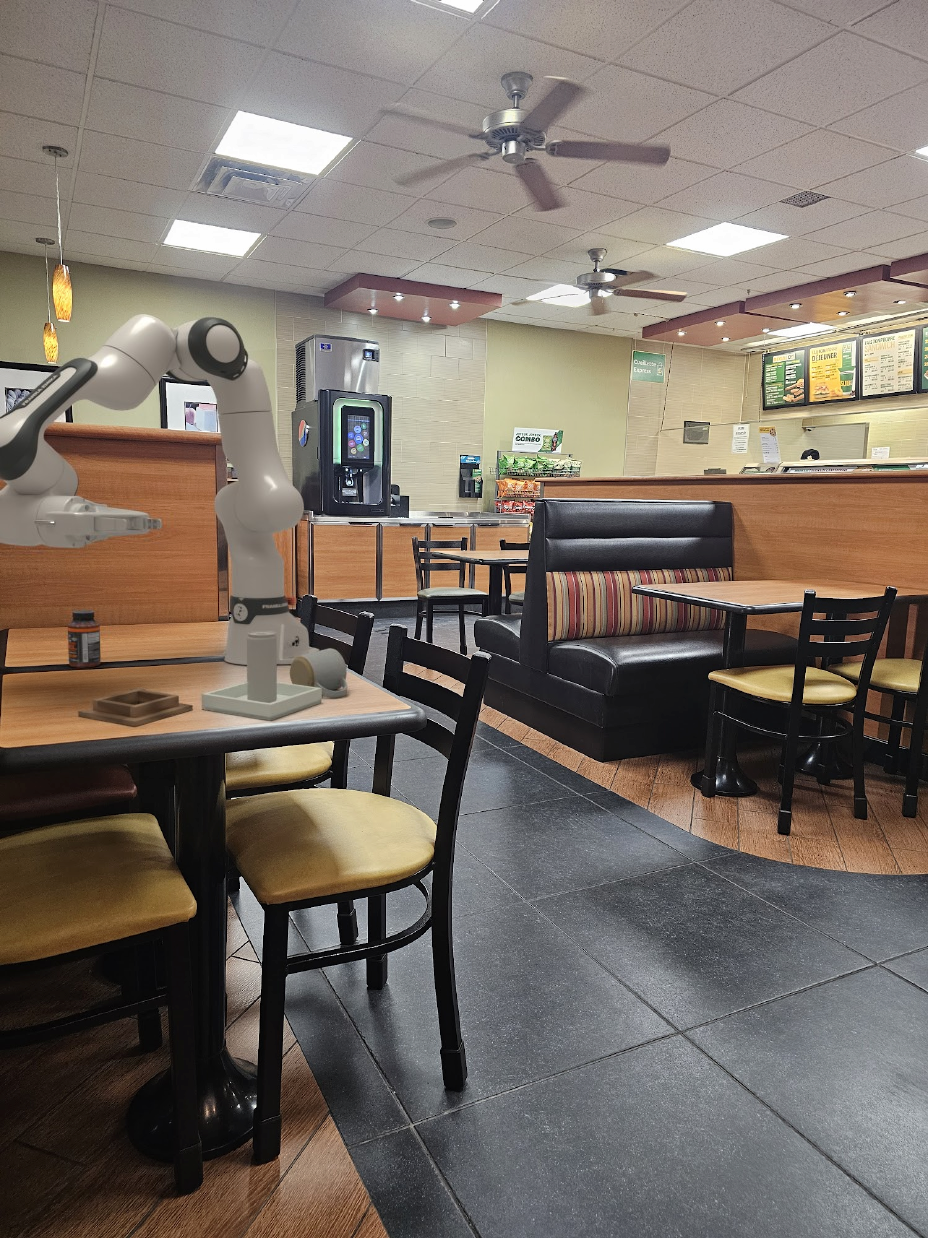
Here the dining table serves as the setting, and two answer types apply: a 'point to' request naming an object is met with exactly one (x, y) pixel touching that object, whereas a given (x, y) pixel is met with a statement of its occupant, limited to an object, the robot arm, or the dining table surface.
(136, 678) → the dining table surface
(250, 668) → the beverage can
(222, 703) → the tray
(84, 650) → the supplement bottle
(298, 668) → the ceramic mug
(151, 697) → the walnut collar
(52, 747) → the dining table surface
